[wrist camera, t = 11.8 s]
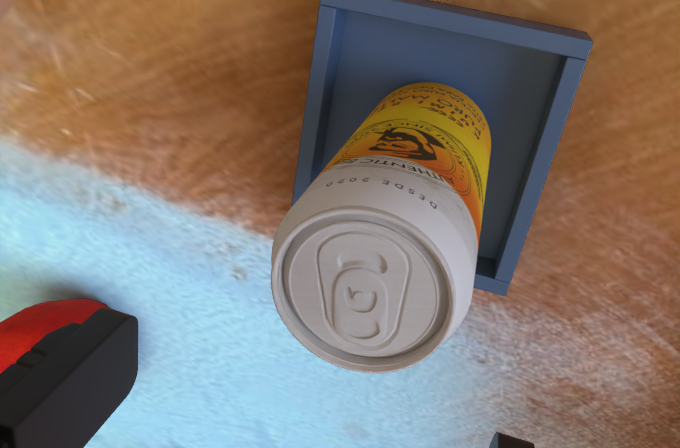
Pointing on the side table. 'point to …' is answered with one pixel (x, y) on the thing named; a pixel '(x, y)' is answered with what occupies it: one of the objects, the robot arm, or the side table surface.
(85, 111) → the side table surface
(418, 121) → the beer can
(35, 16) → the side table surface
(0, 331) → the apple
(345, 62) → the blue tray
